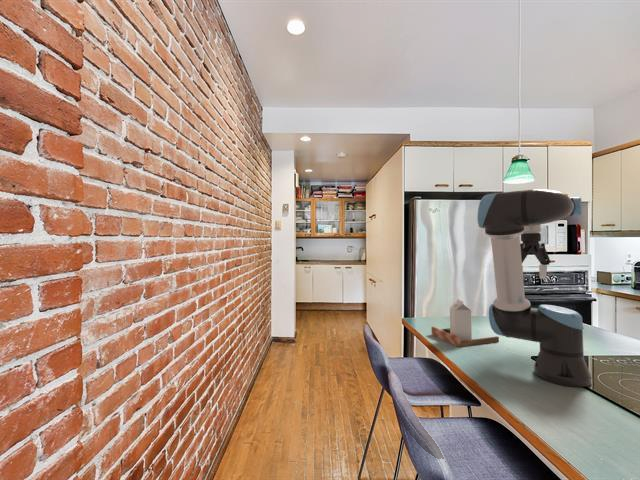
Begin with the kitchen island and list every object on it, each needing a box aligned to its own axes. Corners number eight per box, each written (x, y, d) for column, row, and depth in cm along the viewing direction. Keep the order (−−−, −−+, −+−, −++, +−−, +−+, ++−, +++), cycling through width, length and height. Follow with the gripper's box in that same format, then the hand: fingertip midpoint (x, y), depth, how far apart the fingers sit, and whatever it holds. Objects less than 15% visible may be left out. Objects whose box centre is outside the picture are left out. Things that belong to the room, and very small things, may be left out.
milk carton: (465, 338, 145) (464, 298, 145) (471, 343, 137) (471, 301, 138) (450, 338, 145) (449, 298, 145) (455, 343, 138) (454, 301, 138)
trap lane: (498, 341, 139) (498, 333, 139) (458, 347, 133) (458, 337, 133) (468, 330, 158) (468, 322, 158) (431, 334, 152) (431, 326, 152)
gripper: (543, 233, 146) (544, 277, 145) (501, 233, 139) (502, 279, 139) (559, 232, 139) (560, 279, 138) (516, 232, 132) (517, 281, 132)
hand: (531, 279), depth 139 cm, fingers open, 13 cm apart
